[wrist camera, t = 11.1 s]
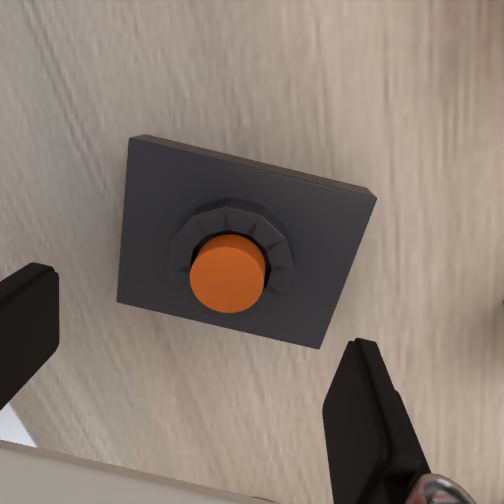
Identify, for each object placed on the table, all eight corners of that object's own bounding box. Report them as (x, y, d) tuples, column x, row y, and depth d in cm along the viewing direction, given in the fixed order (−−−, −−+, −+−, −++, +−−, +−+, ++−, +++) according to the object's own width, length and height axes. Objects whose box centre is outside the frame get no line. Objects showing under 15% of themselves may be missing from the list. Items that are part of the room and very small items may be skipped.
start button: (192, 287, 19) (184, 304, 17) (203, 226, 18) (195, 239, 16) (256, 302, 19) (254, 320, 17) (272, 243, 18) (271, 256, 16)
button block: (130, 285, 24) (102, 319, 20) (144, 133, 20) (112, 140, 16) (316, 329, 24) (322, 370, 20) (368, 188, 20) (387, 207, 16)
